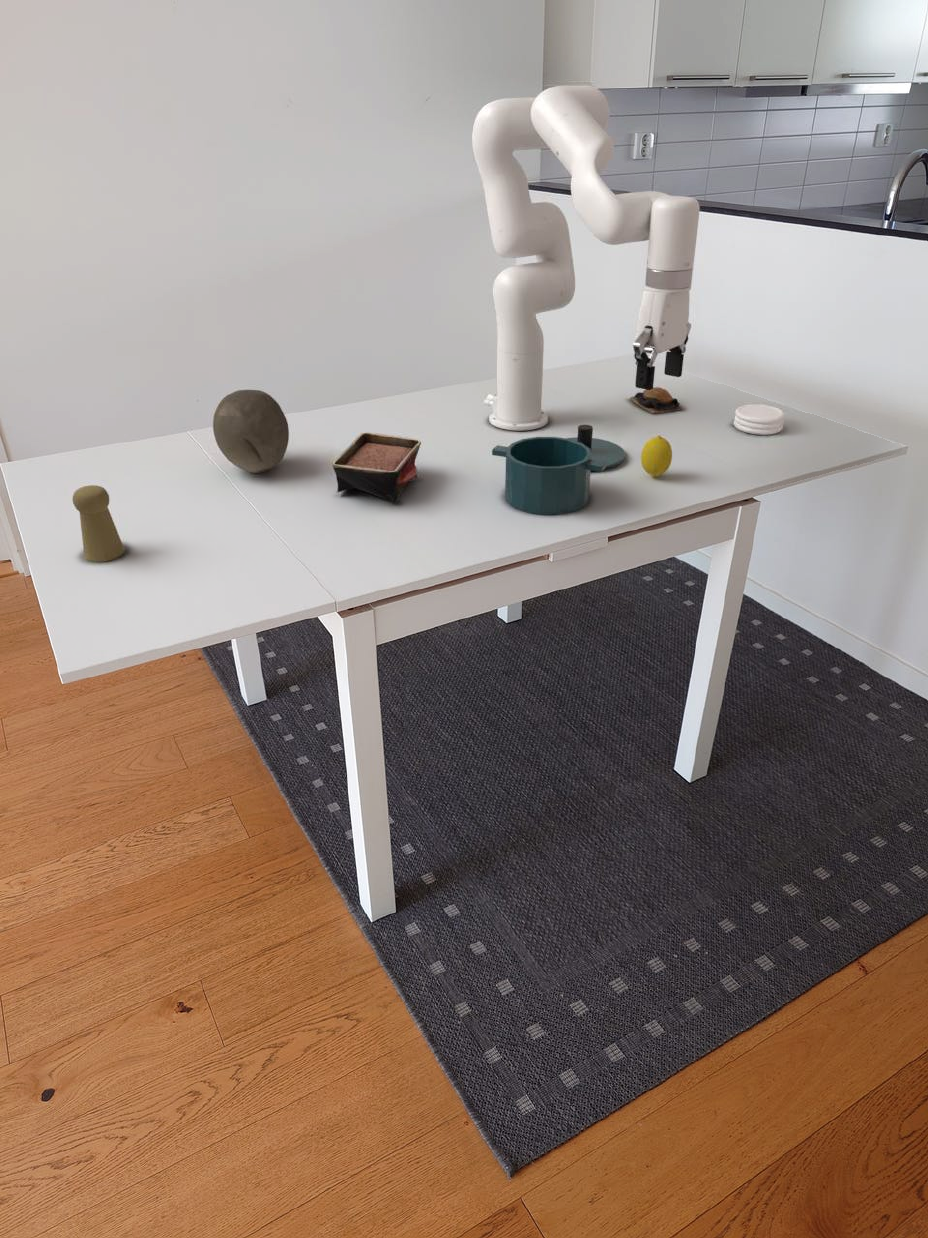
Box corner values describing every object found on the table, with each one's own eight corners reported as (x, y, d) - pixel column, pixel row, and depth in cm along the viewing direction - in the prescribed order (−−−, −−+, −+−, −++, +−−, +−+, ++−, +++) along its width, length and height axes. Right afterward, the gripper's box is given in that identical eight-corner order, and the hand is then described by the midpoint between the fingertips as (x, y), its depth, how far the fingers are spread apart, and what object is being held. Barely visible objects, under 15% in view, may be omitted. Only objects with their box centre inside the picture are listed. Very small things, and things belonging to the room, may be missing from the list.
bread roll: (627, 400, 202) (628, 384, 200) (659, 396, 204) (661, 380, 202) (651, 414, 193) (652, 398, 192) (684, 410, 196) (686, 393, 194)
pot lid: (558, 438, 182) (559, 409, 179) (633, 448, 176) (636, 419, 173) (531, 465, 170) (532, 434, 166) (611, 477, 164) (614, 446, 161)
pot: (508, 473, 166) (509, 430, 162) (612, 490, 159) (616, 445, 155) (478, 503, 155) (478, 457, 150) (588, 523, 148) (592, 475, 143)
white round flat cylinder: (788, 424, 187) (791, 408, 186) (774, 438, 180) (777, 422, 179) (741, 416, 192) (744, 400, 190) (726, 430, 185) (729, 413, 183)
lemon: (669, 484, 161) (674, 442, 157) (638, 481, 162) (642, 440, 158) (669, 472, 166) (674, 431, 162) (639, 470, 167) (643, 429, 163)
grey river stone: (308, 462, 172) (300, 385, 164) (265, 489, 161) (254, 408, 153) (248, 451, 177) (237, 376, 169) (203, 476, 166) (189, 398, 158)
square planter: (432, 486, 166) (429, 432, 163) (395, 510, 151) (391, 452, 147) (362, 482, 171) (358, 430, 167) (319, 506, 155) (313, 449, 152)
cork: (90, 545, 143) (73, 481, 137) (128, 543, 143) (113, 479, 137) (79, 562, 138) (62, 497, 132) (119, 561, 138) (103, 495, 132)
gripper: (674, 268, 154) (664, 367, 163) (620, 284, 143) (613, 389, 152) (714, 273, 150) (701, 374, 159) (661, 290, 139) (651, 397, 148)
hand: (658, 381), depth 156 cm, fingers open, 9 cm apart
